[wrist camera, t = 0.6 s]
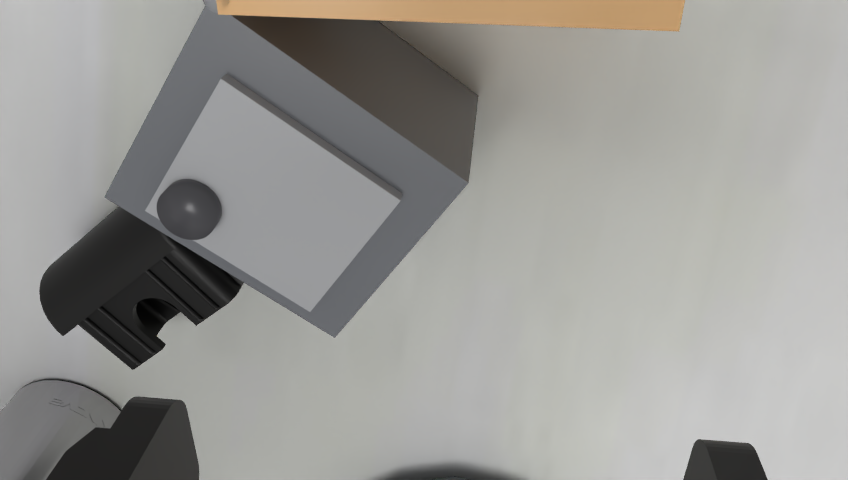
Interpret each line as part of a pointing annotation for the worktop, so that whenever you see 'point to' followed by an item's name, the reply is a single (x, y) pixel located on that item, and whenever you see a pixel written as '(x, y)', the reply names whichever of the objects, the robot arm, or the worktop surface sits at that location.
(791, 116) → the worktop surface
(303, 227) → the grey matte box
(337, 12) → the side door
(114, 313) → the end cap
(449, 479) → the pie
